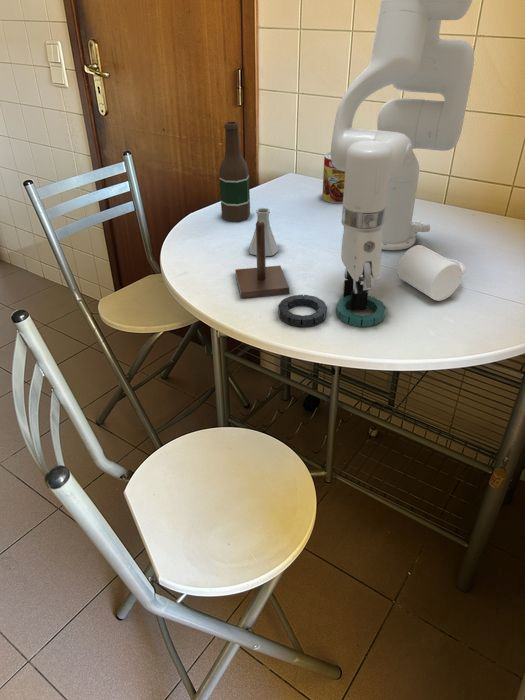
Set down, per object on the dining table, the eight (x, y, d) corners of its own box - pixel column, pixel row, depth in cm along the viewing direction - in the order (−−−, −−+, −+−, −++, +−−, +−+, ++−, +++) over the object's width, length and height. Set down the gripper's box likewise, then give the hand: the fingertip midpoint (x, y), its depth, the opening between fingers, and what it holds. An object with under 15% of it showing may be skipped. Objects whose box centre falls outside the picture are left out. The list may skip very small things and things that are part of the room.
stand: (280, 271, 116) (280, 209, 108) (289, 293, 108) (290, 228, 100) (235, 275, 115) (232, 213, 107) (241, 298, 107) (238, 232, 99)
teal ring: (375, 299, 106) (376, 292, 105) (391, 324, 99) (392, 316, 98) (330, 303, 105) (331, 296, 104) (343, 329, 98) (344, 321, 97)
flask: (275, 258, 122) (275, 217, 116) (245, 256, 123) (243, 215, 117) (281, 245, 127) (281, 205, 121) (252, 243, 128) (250, 203, 123)
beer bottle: (256, 214, 143) (253, 121, 129) (239, 224, 138) (235, 128, 123) (232, 209, 146) (227, 117, 132) (216, 218, 141) (209, 124, 127)
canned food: (330, 204, 148) (333, 161, 141) (317, 195, 154) (319, 153, 146) (354, 200, 150) (358, 157, 143) (340, 191, 156) (343, 150, 149)
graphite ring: (319, 299, 106) (320, 292, 105) (331, 324, 99) (332, 317, 98) (275, 303, 105) (275, 297, 104) (283, 329, 98) (283, 322, 97)
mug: (427, 305, 104) (434, 269, 99) (394, 284, 111) (400, 249, 106) (472, 290, 108) (481, 255, 103) (438, 270, 115) (444, 236, 111)
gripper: (400, 232, 88) (386, 324, 99) (368, 197, 101) (359, 281, 112) (356, 236, 87) (348, 328, 98) (330, 200, 100) (325, 284, 111)
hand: (354, 302), depth 105 cm, fingers open, 3 cm apart
